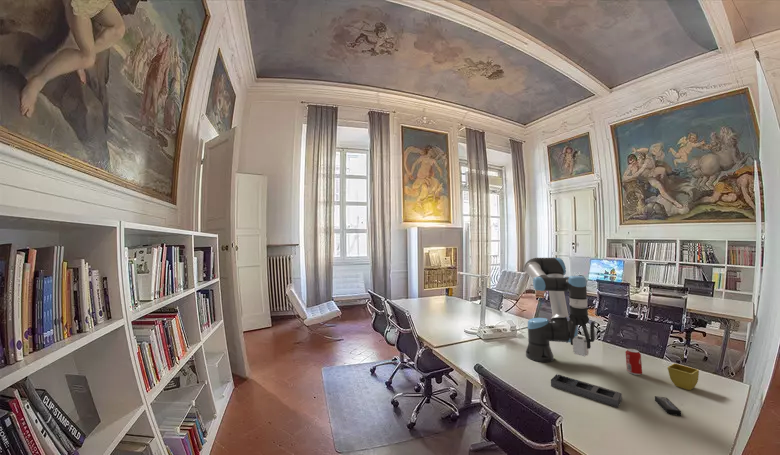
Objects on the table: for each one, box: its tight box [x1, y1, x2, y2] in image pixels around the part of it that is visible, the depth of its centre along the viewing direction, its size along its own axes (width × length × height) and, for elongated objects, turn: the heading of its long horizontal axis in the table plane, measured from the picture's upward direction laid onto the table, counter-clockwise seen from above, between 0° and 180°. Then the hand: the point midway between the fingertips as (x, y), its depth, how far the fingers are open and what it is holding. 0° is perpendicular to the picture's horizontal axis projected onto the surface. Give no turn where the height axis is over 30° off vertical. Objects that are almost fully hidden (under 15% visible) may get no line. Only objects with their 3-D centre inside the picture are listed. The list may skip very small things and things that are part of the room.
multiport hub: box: [654, 396, 682, 417], centre depth 119 cm, size 4×11×2 cm, turn 158°
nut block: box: [573, 336, 586, 357], centre depth 142 cm, size 4×4×8 cm
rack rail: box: [550, 373, 623, 409], centre depth 132 cm, size 26×9×3 cm, turn 43°
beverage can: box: [625, 348, 643, 376], centre depth 151 cm, size 6×6×12 cm
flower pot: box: [667, 363, 700, 391], centre depth 135 cm, size 9×9×9 cm
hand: (580, 353), depth 142 cm, fingers closed on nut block, 4 cm apart
